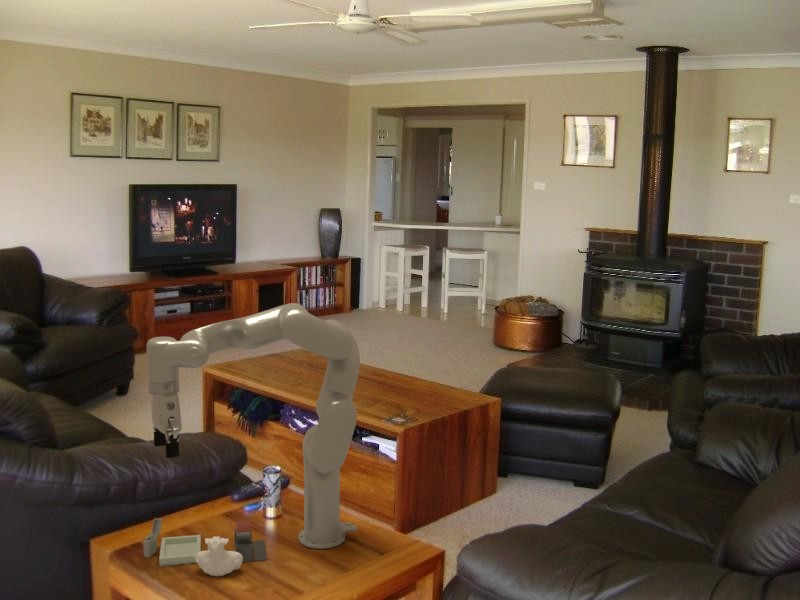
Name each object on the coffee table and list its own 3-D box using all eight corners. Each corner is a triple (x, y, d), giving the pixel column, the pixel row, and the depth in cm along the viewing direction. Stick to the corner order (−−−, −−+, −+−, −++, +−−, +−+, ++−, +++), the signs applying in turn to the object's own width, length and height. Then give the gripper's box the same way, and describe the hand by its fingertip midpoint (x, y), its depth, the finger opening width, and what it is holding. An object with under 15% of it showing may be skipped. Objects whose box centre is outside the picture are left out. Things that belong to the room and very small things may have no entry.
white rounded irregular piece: (194, 581, 214) (186, 561, 206) (199, 552, 219) (192, 531, 211) (242, 582, 214) (236, 561, 206) (246, 553, 219) (240, 532, 211)
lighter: (149, 557, 221) (148, 528, 220) (143, 556, 222) (142, 527, 220) (163, 545, 228) (162, 517, 227) (157, 544, 229) (156, 516, 227)
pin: (250, 548, 227) (249, 520, 226) (250, 554, 224) (250, 525, 222) (236, 549, 226) (236, 521, 225) (237, 556, 223) (236, 527, 221)
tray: (200, 542, 230) (200, 534, 230) (200, 563, 219) (200, 555, 218) (162, 545, 228) (161, 537, 228) (159, 566, 217) (159, 558, 216)
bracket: (264, 540, 232) (264, 526, 231) (267, 560, 221) (266, 545, 220) (234, 543, 230) (234, 529, 229) (235, 563, 219) (235, 548, 218)
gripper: (189, 392, 211) (192, 459, 214) (167, 376, 225) (170, 439, 228) (159, 397, 207) (162, 464, 210) (139, 380, 221) (142, 443, 224)
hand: (166, 451), depth 219 cm, fingers open, 9 cm apart
